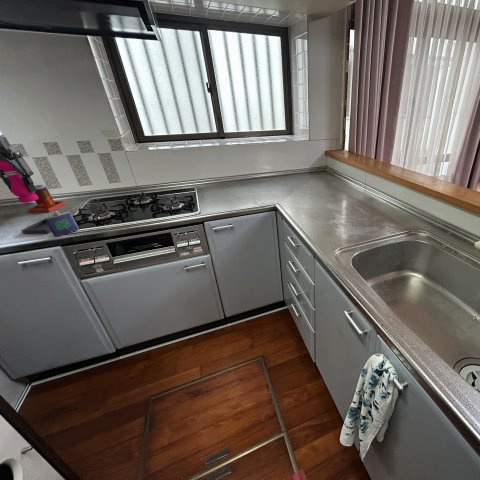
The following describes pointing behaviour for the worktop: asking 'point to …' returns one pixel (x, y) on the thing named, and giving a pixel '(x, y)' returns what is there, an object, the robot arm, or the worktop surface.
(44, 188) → the soda can
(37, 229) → the charcoal tray
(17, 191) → the pepper mill
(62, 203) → the red tray
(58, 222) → the flask
